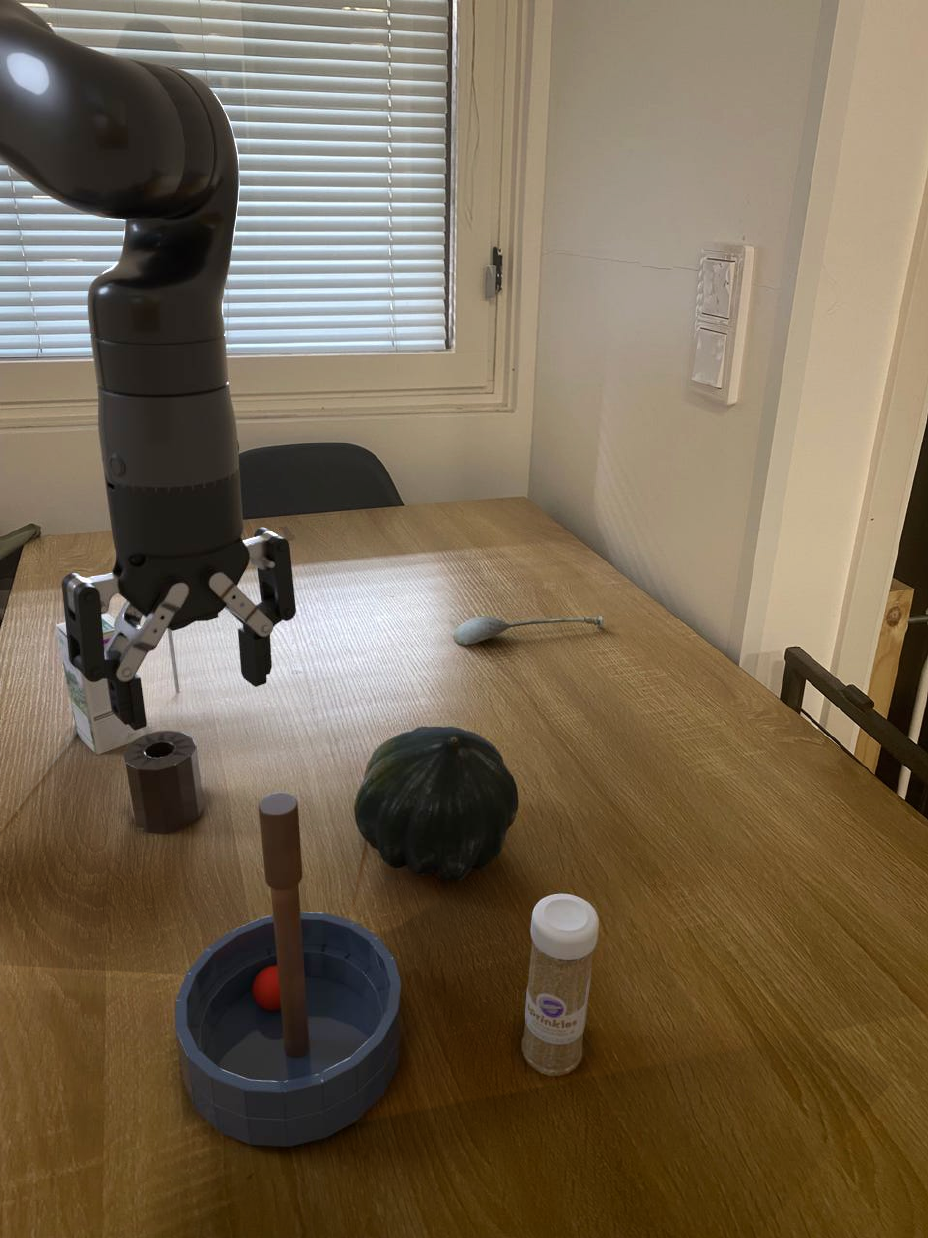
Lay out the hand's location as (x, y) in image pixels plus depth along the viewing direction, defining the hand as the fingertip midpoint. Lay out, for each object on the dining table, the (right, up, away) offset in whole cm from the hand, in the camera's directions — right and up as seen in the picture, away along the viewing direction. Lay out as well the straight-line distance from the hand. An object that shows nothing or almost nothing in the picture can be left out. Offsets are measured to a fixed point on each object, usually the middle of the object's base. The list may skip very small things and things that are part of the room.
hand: (196, 701), depth 60 cm
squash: (+15, -17, +28) cm, 36 cm away
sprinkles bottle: (+24, -27, +8) cm, 37 cm away
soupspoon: (+27, +3, +70) cm, 75 cm away
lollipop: (-18, -4, +53) cm, 56 cm away
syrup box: (-22, -8, +43) cm, 49 cm away
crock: (-12, -14, +31) cm, 36 cm away
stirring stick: (+5, -26, +7) cm, 27 cm away
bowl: (+5, -26, +7) cm, 28 cm away
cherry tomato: (+3, -23, +10) cm, 25 cm away
